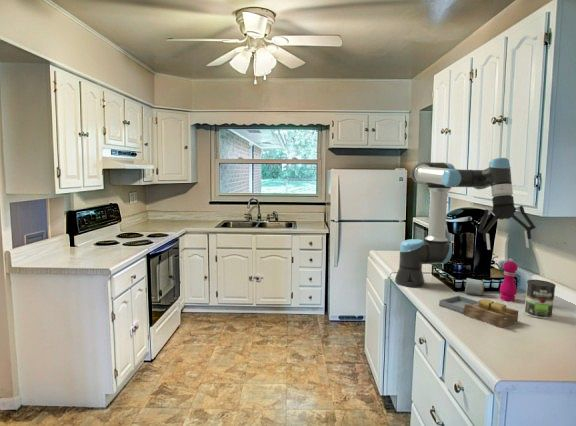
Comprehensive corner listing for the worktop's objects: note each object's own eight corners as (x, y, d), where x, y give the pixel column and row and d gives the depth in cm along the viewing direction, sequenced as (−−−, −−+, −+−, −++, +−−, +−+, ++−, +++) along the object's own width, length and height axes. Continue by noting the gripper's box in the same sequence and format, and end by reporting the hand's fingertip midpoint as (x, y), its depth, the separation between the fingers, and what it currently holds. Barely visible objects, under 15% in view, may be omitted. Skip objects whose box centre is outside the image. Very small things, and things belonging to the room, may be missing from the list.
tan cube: (478, 309, 169) (479, 300, 169) (484, 307, 172) (485, 298, 171) (488, 312, 166) (488, 303, 166) (493, 310, 168) (494, 301, 168)
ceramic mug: (483, 297, 195) (484, 281, 195) (465, 295, 198) (466, 279, 198) (481, 291, 205) (482, 276, 205) (464, 289, 208) (465, 275, 208)
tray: (439, 305, 182) (439, 300, 182) (457, 300, 190) (458, 295, 190) (463, 313, 172) (463, 308, 172) (482, 308, 180) (482, 302, 180)
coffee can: (555, 320, 167) (558, 287, 165) (526, 316, 170) (529, 284, 169) (548, 312, 176) (551, 281, 175) (522, 309, 180) (524, 278, 178)
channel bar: (464, 315, 171) (464, 304, 170) (480, 310, 177) (481, 299, 177) (501, 328, 158) (502, 316, 157) (517, 322, 164) (518, 310, 164)
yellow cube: (490, 313, 165) (491, 303, 165) (495, 311, 167) (496, 302, 167) (500, 316, 162) (500, 306, 161) (505, 314, 164) (506, 305, 164)
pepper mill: (512, 302, 188) (516, 260, 186) (496, 298, 194) (499, 258, 191) (518, 299, 193) (522, 258, 191) (502, 296, 198) (505, 256, 196)
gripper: (467, 198, 167) (472, 249, 164) (537, 190, 153) (544, 246, 150) (471, 201, 173) (475, 250, 170) (539, 193, 159) (545, 247, 156)
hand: (507, 248), depth 160 cm, fingers open, 13 cm apart
